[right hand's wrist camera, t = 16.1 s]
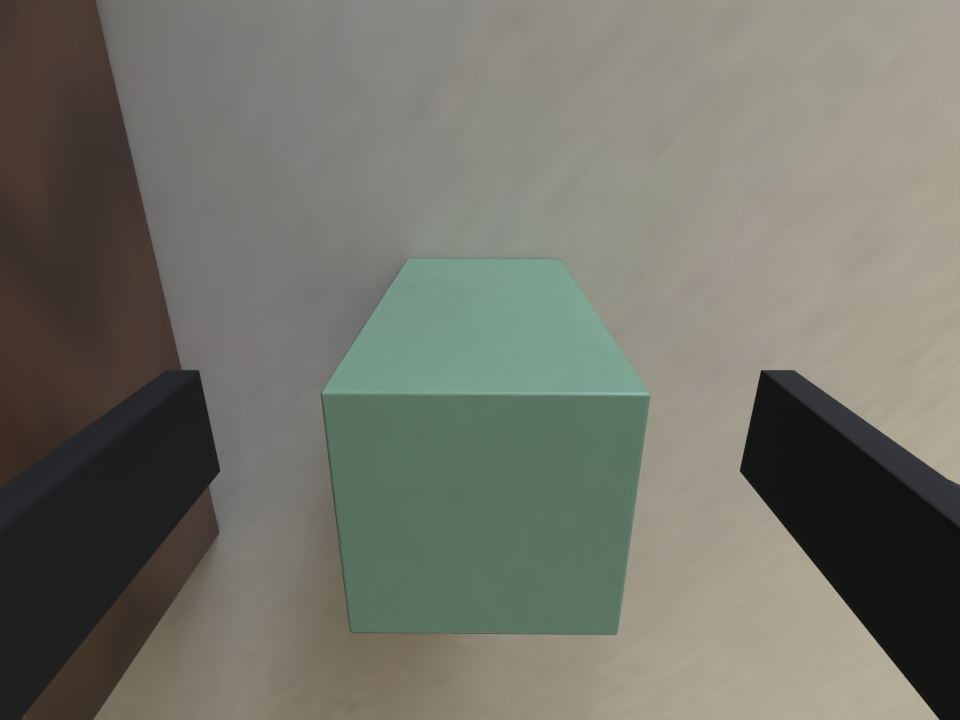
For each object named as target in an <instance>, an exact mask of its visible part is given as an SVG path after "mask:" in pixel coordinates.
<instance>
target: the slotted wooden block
mask: <svg viewBox="0 0 960 720" xmlns="http://www.w3.org/2000/svg"><path fill="white" fill-rule="evenodd" d="M166 370H181V367H180V363H179V358H178V354H177V350H176V345H175V341H174V337H173V333H172V328H171V324H170V320H169V315H168V311H167V307H166V303H165V298H164V294H163V290H162V285H161V281H160V277H159V273H158V268H157V264H156V260H155V255H154V251H153V247H152V243H151V238H150V234H149V230H148V225H147V221H146V217H145V213H144V208H143V204H142V200H141V195H140V191H139V187H138V183H137V178H136V174H135V170H134V165H133V161H132V157H131V153H130V148H129V144H128V140H127V135H126V131H125V127H124V123H123V118H122V114H121V110H120V105H119V101H118V97H117V93H116V88H115V84H114V80H113V75H112V71H111V67H110V63H109V58H108V54H107V50H106V45H105V41H104V37H103V32H102V28H101V24H100V20H99V15H98V11H97V7H96V2H95V0H0V487H2V486H4V485H5V484H7V483H8V482H9V481H11V480H12V479H14V478H15V477H16V476H18V475H19V474H21V473H22V472H24V471H25V470H26V469H28V468H29V467H31V466H32V465H33V464H35V463H36V462H38V461H39V460H40V459H42V458H43V457H45V456H46V455H47V454H49V453H50V452H52V451H53V450H55V449H56V448H57V447H59V446H60V445H62V444H63V443H64V442H66V441H67V440H69V439H70V438H71V437H73V436H74V435H76V434H77V433H78V432H80V431H81V430H83V429H84V428H86V427H87V426H88V425H90V424H91V423H93V422H94V421H95V420H97V419H98V418H100V417H101V416H102V415H104V414H105V413H107V412H108V411H109V410H111V409H112V408H114V407H115V406H117V405H118V404H119V403H121V402H122V401H124V400H125V399H126V398H128V397H129V396H131V395H132V394H133V393H135V392H136V391H138V390H139V389H140V388H142V387H143V386H145V385H146V384H147V383H149V382H150V381H152V380H153V379H155V378H156V377H157V376H159V375H160V374H162V373H163V372H164V371H166ZM218 534H219V530H218V526H217V521H216V517H215V513H214V508H213V504H212V500H211V496H210V491H209V487H207V488H206V489H205V491H204V492H203V493H202V494H201V495H200V497H199V498H198V499H197V500H196V502H195V503H194V504H193V505H192V507H191V508H190V509H189V510H188V512H187V513H186V514H185V515H184V517H183V518H182V519H181V520H180V522H179V523H178V524H177V525H176V527H175V528H174V529H173V530H172V532H171V533H170V534H169V535H168V537H167V538H166V539H165V540H164V542H163V543H162V544H161V545H160V547H159V548H158V549H157V550H156V552H155V553H154V554H153V555H152V556H151V558H150V559H149V560H148V561H147V563H146V564H145V565H144V566H143V568H142V569H141V570H140V571H139V573H138V574H137V575H136V576H135V578H134V579H133V580H132V581H131V583H130V584H129V585H128V586H127V588H126V589H125V590H124V591H123V593H122V594H121V595H120V596H119V598H118V599H117V600H116V601H115V603H114V604H113V605H112V606H111V608H110V609H109V610H108V611H107V613H106V614H105V615H104V616H103V618H102V619H101V620H100V621H99V622H98V624H97V625H96V626H95V627H94V629H93V630H92V631H91V632H90V634H89V635H88V636H87V637H86V639H85V640H84V641H83V642H82V644H81V645H80V646H79V647H78V649H77V650H76V651H75V652H74V654H73V655H72V656H71V657H70V659H69V660H68V661H67V662H66V664H65V665H64V666H63V667H62V669H61V670H60V671H59V672H58V674H57V675H56V676H55V677H54V679H53V680H52V681H51V682H50V683H49V685H48V686H47V687H46V688H45V690H44V691H43V692H42V693H41V695H40V696H39V697H38V698H37V700H36V701H35V702H34V703H33V705H32V706H31V707H30V708H29V710H28V711H27V712H26V713H25V715H24V716H23V717H22V718H21V720H93V719H94V718H95V716H96V715H97V713H98V712H99V710H100V709H101V708H102V706H103V705H104V703H105V702H106V700H107V699H108V697H109V696H110V694H111V693H112V691H113V690H114V688H115V687H116V685H117V684H118V682H119V681H120V679H121V678H122V676H123V675H124V673H125V672H126V670H127V669H128V667H129V666H130V664H131V663H132V661H133V660H134V659H135V657H136V656H137V654H138V653H139V651H140V650H141V648H142V647H143V645H144V644H145V642H146V641H147V639H148V638H149V636H150V635H151V633H152V632H153V630H154V629H155V627H156V626H157V624H158V623H159V621H160V620H161V618H162V617H163V615H164V614H165V613H166V611H167V610H168V608H169V607H170V605H171V604H172V602H173V601H174V599H175V598H176V596H177V595H178V593H179V592H180V590H181V589H182V587H183V586H184V584H185V583H186V581H187V580H188V578H189V577H190V575H191V574H192V572H193V571H194V569H195V568H196V567H197V565H198V564H199V562H200V561H201V559H202V558H203V556H204V555H205V553H206V552H207V550H208V549H209V547H210V546H211V544H212V543H213V541H214V540H215V538H216V537H217V535H218Z"/></svg>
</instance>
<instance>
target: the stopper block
mask: <svg viewBox="0 0 960 720" xmlns="http://www.w3.org/2000/svg"><path fill="white" fill-rule="evenodd" d="M321 399H322V408H323V416H324V424H325V432H326V440H327V448H328V457H329V465H330V473H331V481H332V489H333V497H334V506H335V514H336V522H337V530H338V538H339V546H340V555H341V563H342V571H343V579H344V587H345V595H346V604H347V612H348V620H349V628H350V632H352V633H442V634H579V635H615V634H617V632H618V625H619V618H620V611H621V603H622V596H623V589H624V582H625V574H626V567H627V560H628V553H629V545H630V538H631V531H632V523H633V516H634V509H635V502H636V494H637V487H638V480H639V473H640V465H641V458H642V451H643V443H644V436H645V429H646V422H647V414H648V407H649V400H650V393H649V392H648V390H647V389H646V387H645V386H644V384H643V383H642V381H641V380H640V378H639V376H638V375H637V373H636V372H635V370H634V369H633V367H632V366H631V364H630V363H629V361H628V360H627V358H626V357H625V355H624V354H623V352H622V351H621V349H620V348H619V346H618V345H617V343H616V342H615V340H614V339H613V337H612V336H611V334H610V333H609V331H608V330H607V328H606V327H605V325H604V324H603V322H602V321H601V319H600V318H599V316H598V314H597V313H596V311H595V310H594V308H593V307H592V305H591V304H590V302H589V301H588V299H587V298H586V296H585V295H584V293H583V292H582V290H581V289H580V287H579V286H578V284H577V283H576V281H575V280H574V278H573V277H572V275H571V274H570V272H569V271H568V269H567V268H566V266H565V265H564V263H563V262H562V260H561V259H441V258H409V259H407V261H406V262H405V264H404V265H403V267H402V268H401V270H400V271H399V273H398V274H397V276H396V277H395V279H394V281H393V282H392V284H391V285H390V287H389V288H388V290H387V291H386V293H385V294H384V296H383V297H382V299H381V301H380V302H379V304H378V305H377V307H376V308H375V310H374V311H373V313H372V314H371V316H370V317H369V319H368V321H367V322H366V324H365V325H364V327H363V328H362V330H361V331H360V333H359V334H358V336H357V337H356V339H355V341H354V342H353V344H352V345H351V347H350V348H349V350H348V351H347V353H346V354H345V356H344V357H343V359H342V361H341V362H340V364H339V365H338V367H337V368H336V370H335V371H334V373H333V374H332V376H331V377H330V379H329V381H328V382H327V384H326V385H325V387H324V388H323V390H322V392H321Z"/></svg>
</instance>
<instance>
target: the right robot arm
mask: <svg viewBox="0 0 960 720" xmlns="http://www.w3.org/2000/svg"><path fill="white" fill-rule="evenodd" d="M219 472H220V468H219V463H218V458H217V454H216V449H215V444H214V439H213V435H212V430H211V425H210V421H209V416H208V411H207V406H206V402H205V397H204V392H203V388H202V383H201V378H200V373H199V370H166V371H164V372H163V373H162V374H160V375H159V376H157V377H156V378H155V379H153V380H152V381H150V382H149V383H147V384H146V385H145V386H143V387H142V388H140V389H139V390H138V391H136V392H135V393H133V394H132V395H131V396H129V397H128V398H126V399H125V400H124V401H122V402H121V403H119V404H118V405H117V406H115V407H114V408H112V409H111V410H109V411H108V412H107V413H105V414H104V415H102V416H101V417H100V418H98V419H97V420H95V421H94V422H93V423H91V424H90V425H88V426H87V427H86V428H84V429H83V430H81V431H80V432H78V433H77V434H76V435H74V436H73V437H71V438H70V439H69V440H67V441H66V442H64V443H63V444H62V445H60V446H59V447H57V448H56V449H55V450H53V451H52V452H50V453H49V454H47V455H46V456H45V457H43V458H42V459H40V460H39V461H38V462H36V463H35V464H33V465H32V466H31V467H29V468H28V469H26V470H25V471H24V472H22V473H21V474H19V475H18V476H16V477H15V478H14V479H12V480H11V481H9V482H8V483H7V484H5V485H4V486H2V487H0V720H21V718H22V717H23V716H24V715H25V713H26V712H27V711H28V710H29V708H30V707H31V706H32V705H33V703H34V702H35V701H36V700H37V698H38V697H39V696H40V695H41V693H42V692H43V691H44V690H45V688H46V687H47V686H48V685H49V683H50V682H51V681H52V680H53V679H54V677H55V676H56V675H57V674H58V672H59V671H60V670H61V669H62V667H63V666H64V665H65V664H66V662H67V661H68V660H69V659H70V657H71V656H72V655H73V654H74V652H75V651H76V650H77V649H78V647H79V646H80V645H81V644H82V642H83V641H84V640H85V639H86V637H87V636H88V635H89V634H90V632H91V631H92V630H93V629H94V627H95V626H96V625H97V624H98V622H99V621H100V620H101V619H102V618H103V616H104V615H105V614H106V613H107V611H108V610H109V609H110V608H111V606H112V605H113V604H114V603H115V601H116V600H117V599H118V598H119V596H120V595H121V594H122V593H123V591H124V590H125V589H126V588H127V586H128V585H129V584H130V583H131V581H132V580H133V579H134V578H135V576H136V575H137V574H138V573H139V571H140V570H141V569H142V568H143V566H144V565H145V564H146V563H147V561H148V560H149V559H150V558H151V556H152V555H153V554H154V553H155V552H156V550H157V549H158V548H159V547H160V545H161V544H162V543H163V542H164V540H165V539H166V538H167V537H168V535H169V534H170V533H171V532H172V530H173V529H174V528H175V527H176V525H177V524H178V523H179V522H180V520H181V519H182V518H183V517H184V515H185V514H186V513H187V512H188V510H189V509H190V508H191V507H192V505H193V504H194V503H195V502H196V500H197V499H198V498H199V497H200V495H201V494H202V493H203V492H204V491H205V489H206V488H207V487H208V486H209V484H210V483H211V482H212V481H213V479H214V478H215V477H216V476H217V474H218V473H219ZM740 472H741V473H742V474H743V476H744V477H745V478H746V479H747V481H748V482H749V483H750V484H751V486H752V487H753V488H754V489H755V491H756V492H757V493H758V494H759V495H760V497H761V498H762V499H763V500H764V502H765V503H766V504H767V505H768V507H769V508H770V509H771V510H772V512H773V513H774V514H775V515H776V517H777V518H778V519H779V520H780V522H781V523H782V524H783V525H784V527H785V528H786V529H787V530H788V532H789V533H790V534H791V535H792V537H793V538H794V539H795V540H796V542H797V543H798V544H799V545H800V547H801V548H802V549H803V550H804V552H805V553H806V554H807V555H808V556H809V558H810V559H811V560H812V561H813V563H814V564H815V565H816V566H817V568H818V569H819V570H820V571H821V573H822V574H823V575H824V576H825V578H826V579H827V580H828V581H829V583H830V584H831V585H832V586H833V588H834V589H835V590H836V591H837V593H838V594H839V595H840V596H841V598H842V599H843V600H844V601H845V603H846V604H847V605H848V606H849V608H850V609H851V610H852V611H853V613H854V614H855V615H856V616H857V618H858V619H859V620H860V621H861V622H862V624H863V625H864V626H865V627H866V629H867V630H868V631H869V632H870V634H871V635H872V636H873V637H874V639H875V640H876V641H877V642H878V644H879V645H880V646H881V647H882V649H883V650H884V651H885V652H886V654H887V655H888V656H889V657H890V659H891V660H892V661H893V662H894V664H895V665H896V666H897V667H898V669H899V670H900V671H901V672H902V674H903V675H904V676H905V677H906V679H907V680H908V681H909V682H910V683H911V685H912V686H913V687H914V688H915V690H916V691H917V692H918V693H919V695H920V696H921V697H922V698H923V700H924V701H925V702H926V703H927V705H928V706H929V707H930V708H931V710H932V711H933V712H934V713H935V715H936V716H937V717H938V718H939V720H960V485H959V484H957V483H954V482H952V481H950V480H948V479H946V478H945V477H944V476H942V475H941V474H939V473H938V472H936V471H935V470H934V469H932V468H931V467H929V466H928V465H927V464H925V463H924V462H922V461H921V460H920V459H918V458H917V457H915V456H914V455H913V454H911V453H910V452H908V451H907V450H905V449H904V448H903V447H901V446H900V445H898V444H897V443H896V442H894V441H893V440H891V439H890V438H889V437H887V436H886V435H884V434H883V433H882V432H880V431H879V430H877V429H876V428H874V427H873V426H872V425H870V424H869V423H867V422H866V421H865V420H863V419H862V418H860V417H859V416H858V415H856V414H855V413H853V412H852V411H851V410H849V409H848V408H846V407H845V406H843V405H842V404H841V403H839V402H838V401H836V400H835V399H834V398H832V397H831V396H829V395H828V394H827V393H825V392H824V391H822V390H821V389H820V388H818V387H817V386H815V385H814V384H813V383H811V382H810V381H808V380H807V379H805V378H804V377H803V376H801V375H800V374H798V373H797V372H796V371H794V370H761V373H760V378H759V383H758V388H757V392H756V397H755V402H754V406H753V411H752V416H751V421H750V425H749V430H748V435H747V439H746V444H745V449H744V454H743V458H742V463H741V468H740Z"/></svg>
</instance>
